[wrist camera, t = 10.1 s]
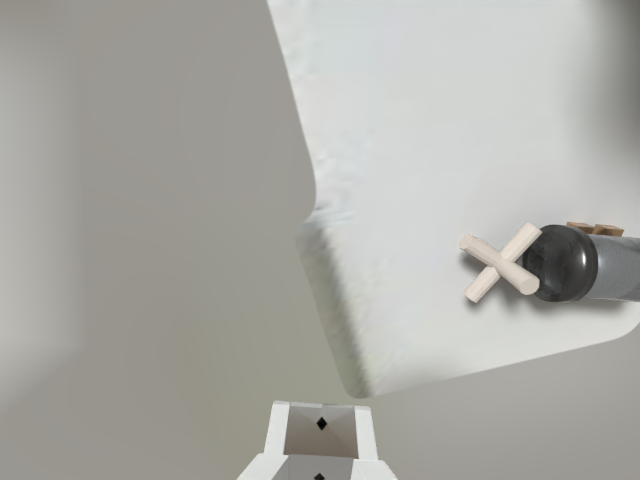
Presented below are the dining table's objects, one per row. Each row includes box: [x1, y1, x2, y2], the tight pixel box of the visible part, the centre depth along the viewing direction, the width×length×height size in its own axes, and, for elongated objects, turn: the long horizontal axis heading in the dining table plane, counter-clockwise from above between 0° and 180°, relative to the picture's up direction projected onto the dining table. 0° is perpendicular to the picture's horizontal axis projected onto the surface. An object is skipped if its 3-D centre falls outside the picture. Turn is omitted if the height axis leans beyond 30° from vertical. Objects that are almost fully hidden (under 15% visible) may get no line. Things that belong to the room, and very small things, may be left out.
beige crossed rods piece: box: [459, 222, 542, 303], centre depth 34 cm, size 10×10×10 cm
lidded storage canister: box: [523, 222, 640, 303], centre depth 34 cm, size 10×8×9 cm
